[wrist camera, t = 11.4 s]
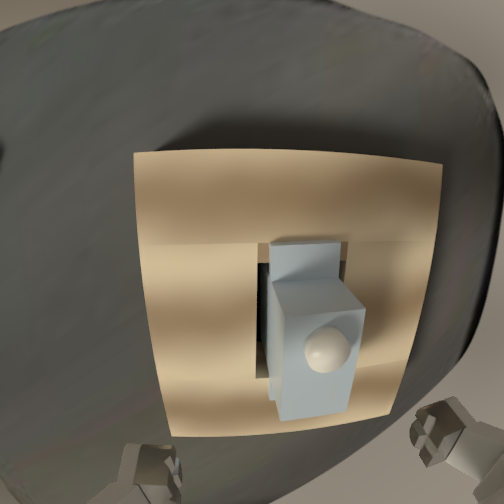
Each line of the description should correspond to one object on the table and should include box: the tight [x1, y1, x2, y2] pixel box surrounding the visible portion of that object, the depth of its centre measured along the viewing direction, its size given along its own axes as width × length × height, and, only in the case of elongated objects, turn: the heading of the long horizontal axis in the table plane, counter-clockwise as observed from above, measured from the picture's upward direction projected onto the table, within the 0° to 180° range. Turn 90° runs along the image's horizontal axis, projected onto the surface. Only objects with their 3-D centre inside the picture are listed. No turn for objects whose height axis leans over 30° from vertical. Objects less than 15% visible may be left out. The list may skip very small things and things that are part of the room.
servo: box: [260, 239, 366, 421], centre depth 17 cm, size 10×3×9 cm, turn 1°
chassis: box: [134, 149, 443, 437], centre depth 19 cm, size 18×16×4 cm
